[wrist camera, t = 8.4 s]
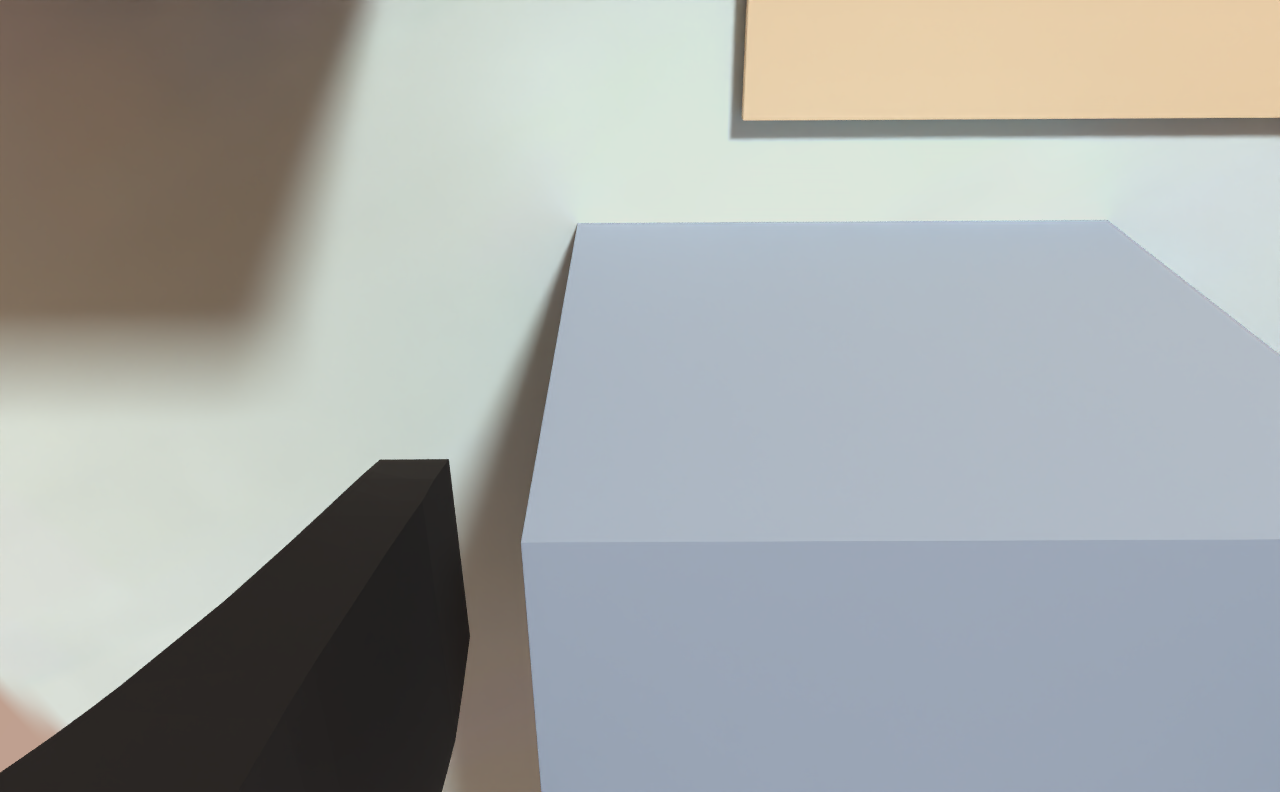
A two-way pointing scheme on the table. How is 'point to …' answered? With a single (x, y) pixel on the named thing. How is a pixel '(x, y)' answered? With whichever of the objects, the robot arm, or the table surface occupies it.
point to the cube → (902, 516)
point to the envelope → (1011, 59)
